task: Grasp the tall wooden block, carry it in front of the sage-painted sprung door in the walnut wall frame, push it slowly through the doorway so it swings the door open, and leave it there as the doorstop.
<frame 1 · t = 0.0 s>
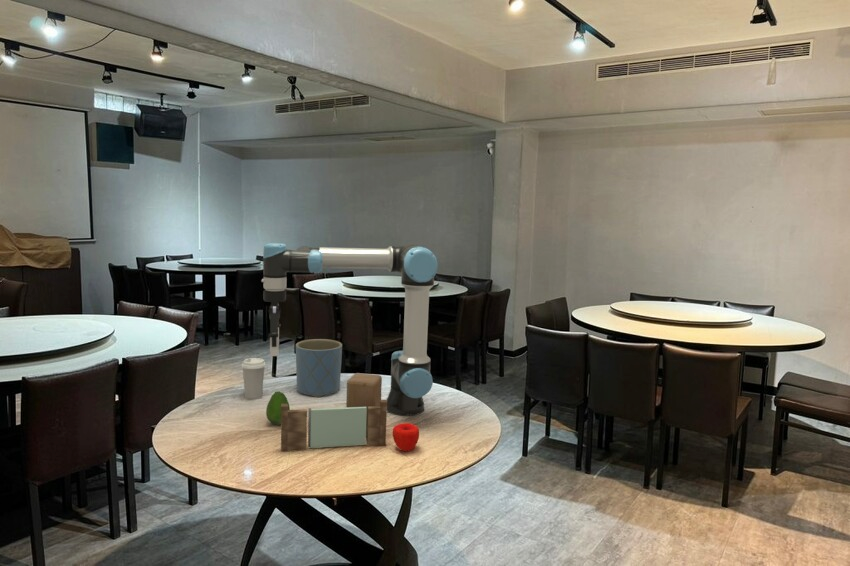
hand: (274, 350, 197), 28 cm above the table, fingers open, 13 cm apart
wooden block: (363, 433, 201), on the table
coffee cup: (253, 397, 232), on the table
door: (337, 426, 187), point 7 cm above the table, hinge at 0.0°
fruit: (277, 424, 205), on the table
planter: (318, 390, 243), on the table
wall frame: (336, 446, 188), on the table
apple: (405, 449, 189), on the table
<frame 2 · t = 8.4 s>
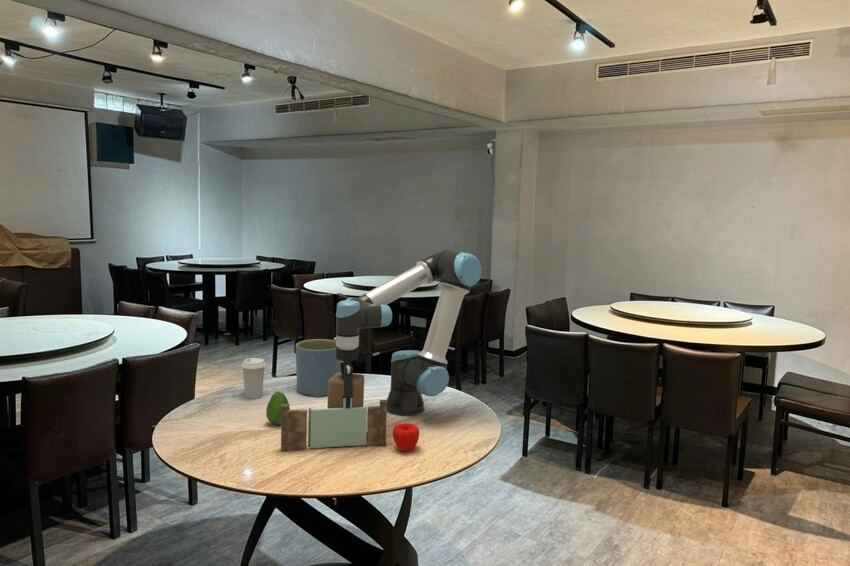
hand: (345, 409, 195), 10 cm above the table, fingers closed on wooden block, 12 cm apart
wooden block: (345, 434, 196), point 1 cm above the table, touching gripper
door: (337, 426, 187), point 7 cm above the table, hinge at 1.0°, touching gripper
everything else where it was.
when the fingers open (10 cm above the table, at t = 12.8 s): wooden block stays where it is, on the table.
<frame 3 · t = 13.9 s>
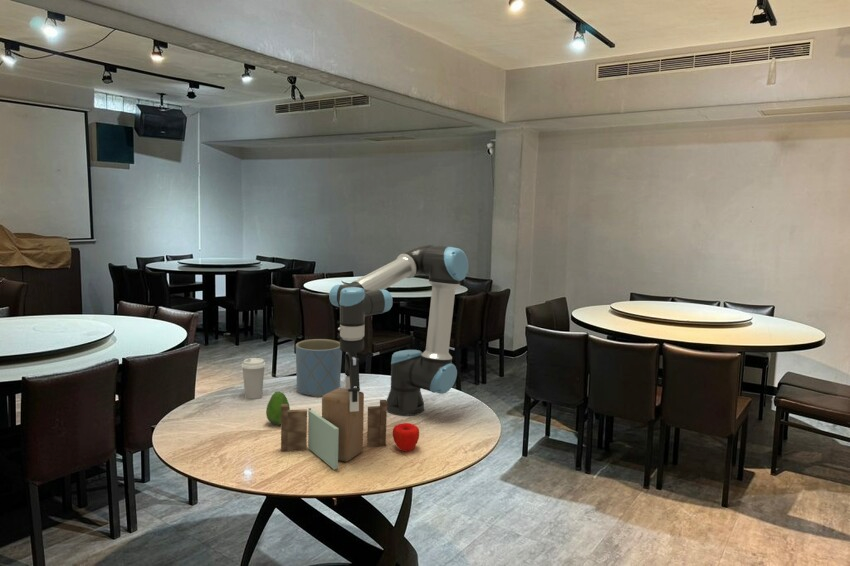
hand: (351, 403, 182), 17 cm above the table, fingers open, 13 cm apart
wooden block: (342, 454, 183), on the table
door: (322, 437, 178), point 7 cm above the table, hinge at 66.6°
everything else where it was.
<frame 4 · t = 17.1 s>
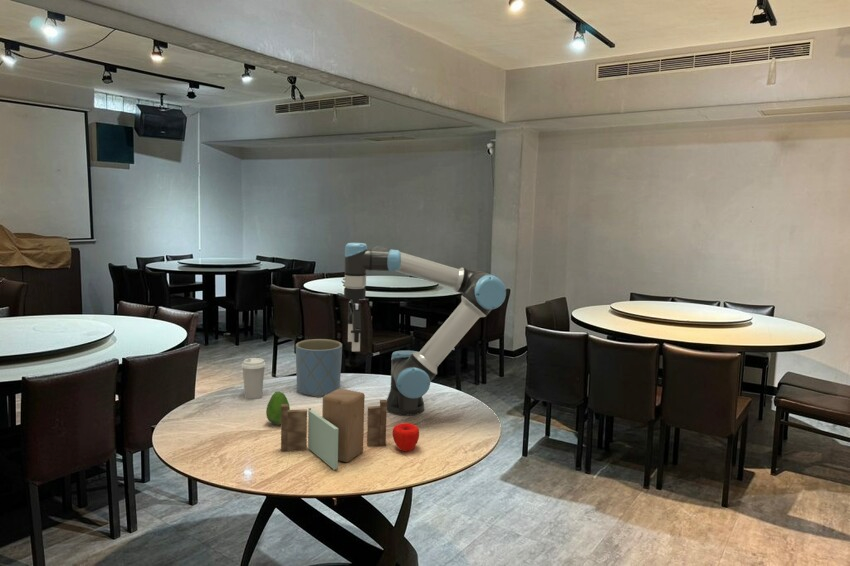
hand: (353, 346, 205), 29 cm above the table, fingers open, 13 cm apart
nothing on the table moved.
at the end: door at +67° (first picture: +0°); wooden block inside the target area (2.0 cm from its centre), on the table; wooden block tilted 0° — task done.
